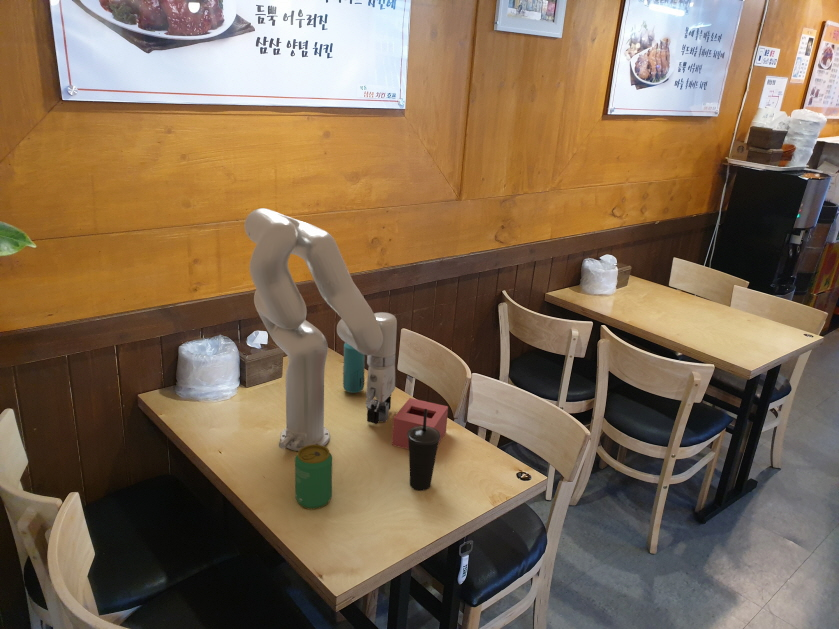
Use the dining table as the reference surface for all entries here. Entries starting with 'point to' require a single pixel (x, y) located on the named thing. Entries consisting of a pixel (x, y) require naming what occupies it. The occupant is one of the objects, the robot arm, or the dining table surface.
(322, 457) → the beverage can
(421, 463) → the drinking cup
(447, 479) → the dining table surface
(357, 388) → the beverage bottle
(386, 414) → the grey flat block
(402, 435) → the red slotted block
